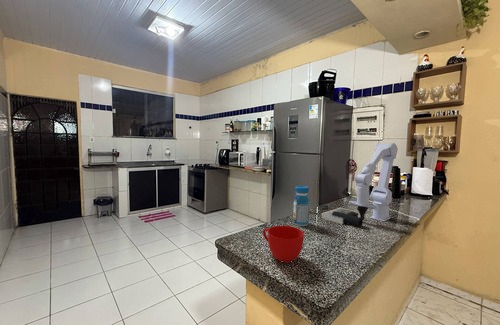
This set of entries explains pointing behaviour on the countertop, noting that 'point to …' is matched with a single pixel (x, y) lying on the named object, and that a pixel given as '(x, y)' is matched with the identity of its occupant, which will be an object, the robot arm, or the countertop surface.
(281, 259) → the ceramic cup
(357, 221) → the pipe connector
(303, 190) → the beverage bottle
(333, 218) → the aluminium bracket
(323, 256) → the countertop surface
